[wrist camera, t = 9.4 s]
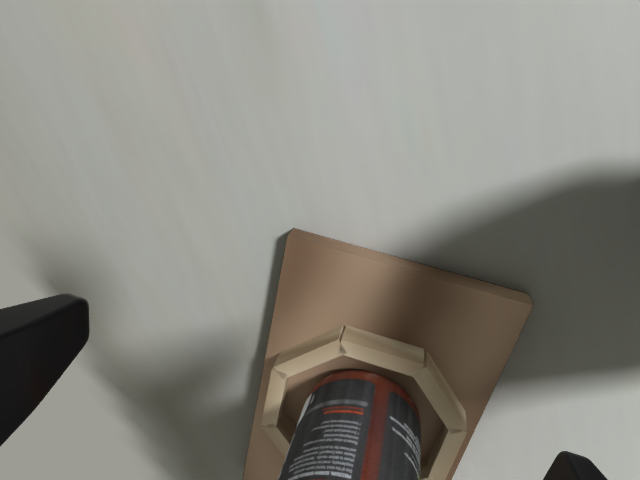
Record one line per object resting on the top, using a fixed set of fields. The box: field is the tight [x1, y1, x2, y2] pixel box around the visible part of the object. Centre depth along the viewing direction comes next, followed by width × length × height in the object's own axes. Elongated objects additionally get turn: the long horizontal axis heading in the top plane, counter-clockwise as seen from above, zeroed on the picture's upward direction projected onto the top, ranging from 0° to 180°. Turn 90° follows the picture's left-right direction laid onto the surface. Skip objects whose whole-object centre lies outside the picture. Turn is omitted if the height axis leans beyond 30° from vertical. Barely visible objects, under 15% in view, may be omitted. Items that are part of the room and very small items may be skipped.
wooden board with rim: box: [243, 228, 533, 480], centre depth 24 cm, size 11×17×2 cm, turn 168°
